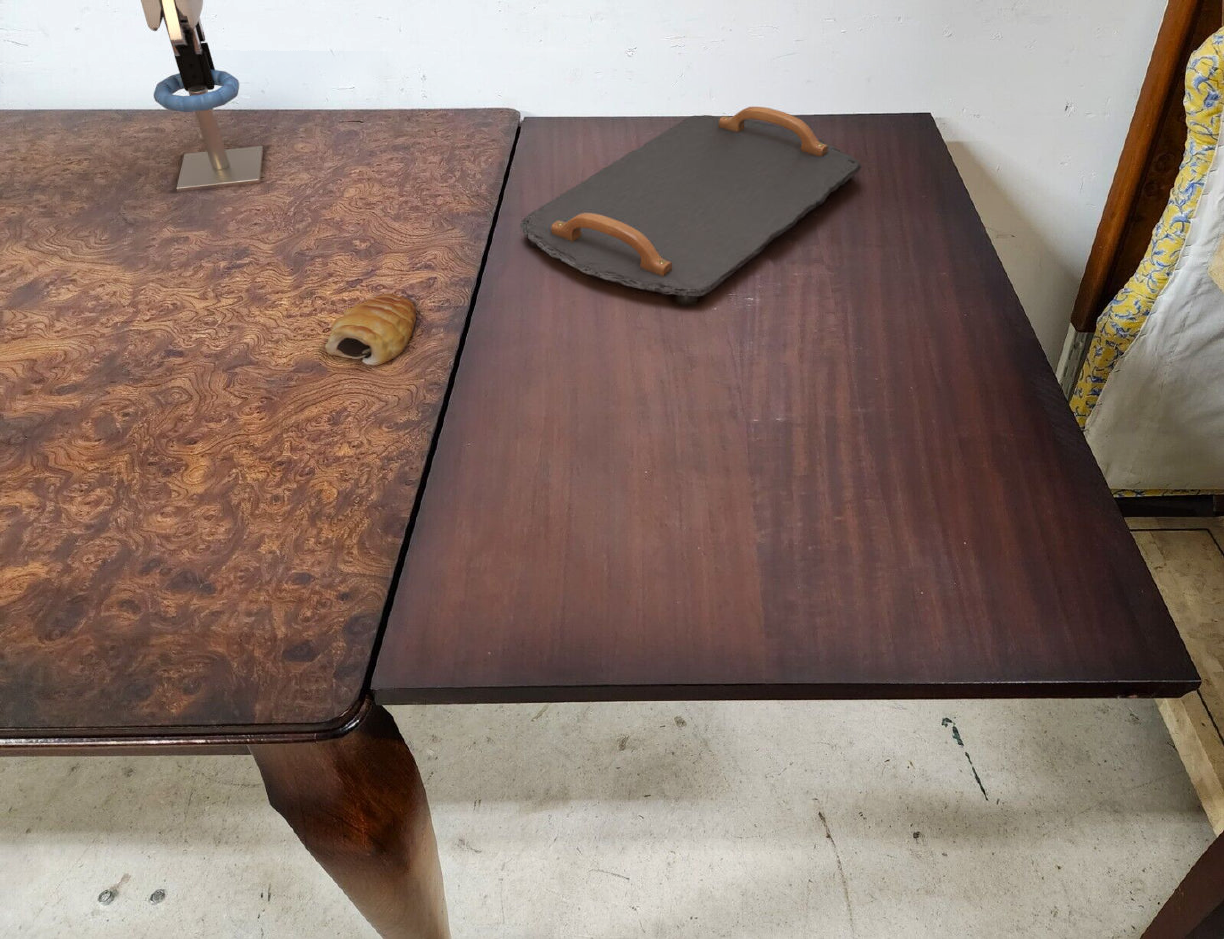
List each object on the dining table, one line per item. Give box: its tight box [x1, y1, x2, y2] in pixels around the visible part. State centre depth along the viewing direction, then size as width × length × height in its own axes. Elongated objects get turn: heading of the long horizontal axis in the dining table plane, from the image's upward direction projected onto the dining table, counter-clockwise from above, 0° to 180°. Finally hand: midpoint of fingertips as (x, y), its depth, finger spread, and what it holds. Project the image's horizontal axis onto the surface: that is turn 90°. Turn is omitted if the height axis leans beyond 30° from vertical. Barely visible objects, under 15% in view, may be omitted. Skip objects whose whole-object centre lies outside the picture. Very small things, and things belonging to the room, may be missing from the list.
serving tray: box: [519, 106, 862, 307], centre depth 104 cm, size 39×23×6 cm, turn 143°
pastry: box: [324, 293, 417, 366], centre depth 88 cm, size 9×7×4 cm
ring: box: [153, 69, 240, 113], centre depth 107 cm, size 9×9×2 cm
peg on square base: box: [176, 85, 264, 193], centre depth 110 cm, size 9×9×10 cm
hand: (201, 83), depth 110 cm, fingers closed on ring, 2 cm apart
